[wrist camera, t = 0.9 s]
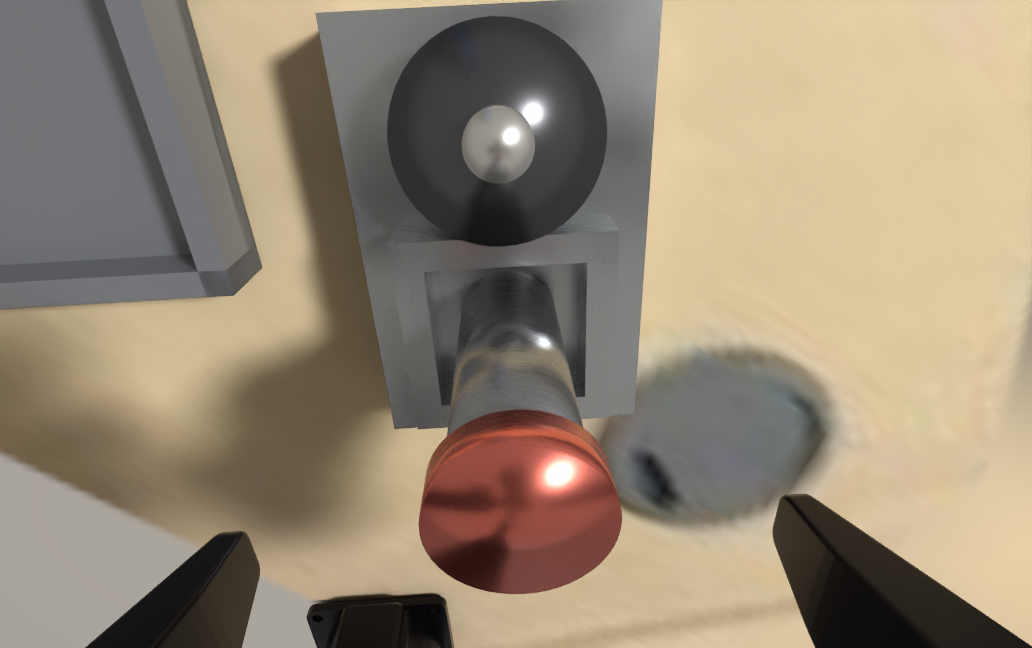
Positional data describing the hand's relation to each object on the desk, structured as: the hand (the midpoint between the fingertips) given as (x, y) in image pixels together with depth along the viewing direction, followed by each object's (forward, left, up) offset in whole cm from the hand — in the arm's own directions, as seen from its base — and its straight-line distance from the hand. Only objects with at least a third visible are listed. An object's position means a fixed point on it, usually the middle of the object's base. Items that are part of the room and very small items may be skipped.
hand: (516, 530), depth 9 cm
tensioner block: (+2, 0, -11) cm, 11 cm away
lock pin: (0, 0, -8) cm, 8 cm away
